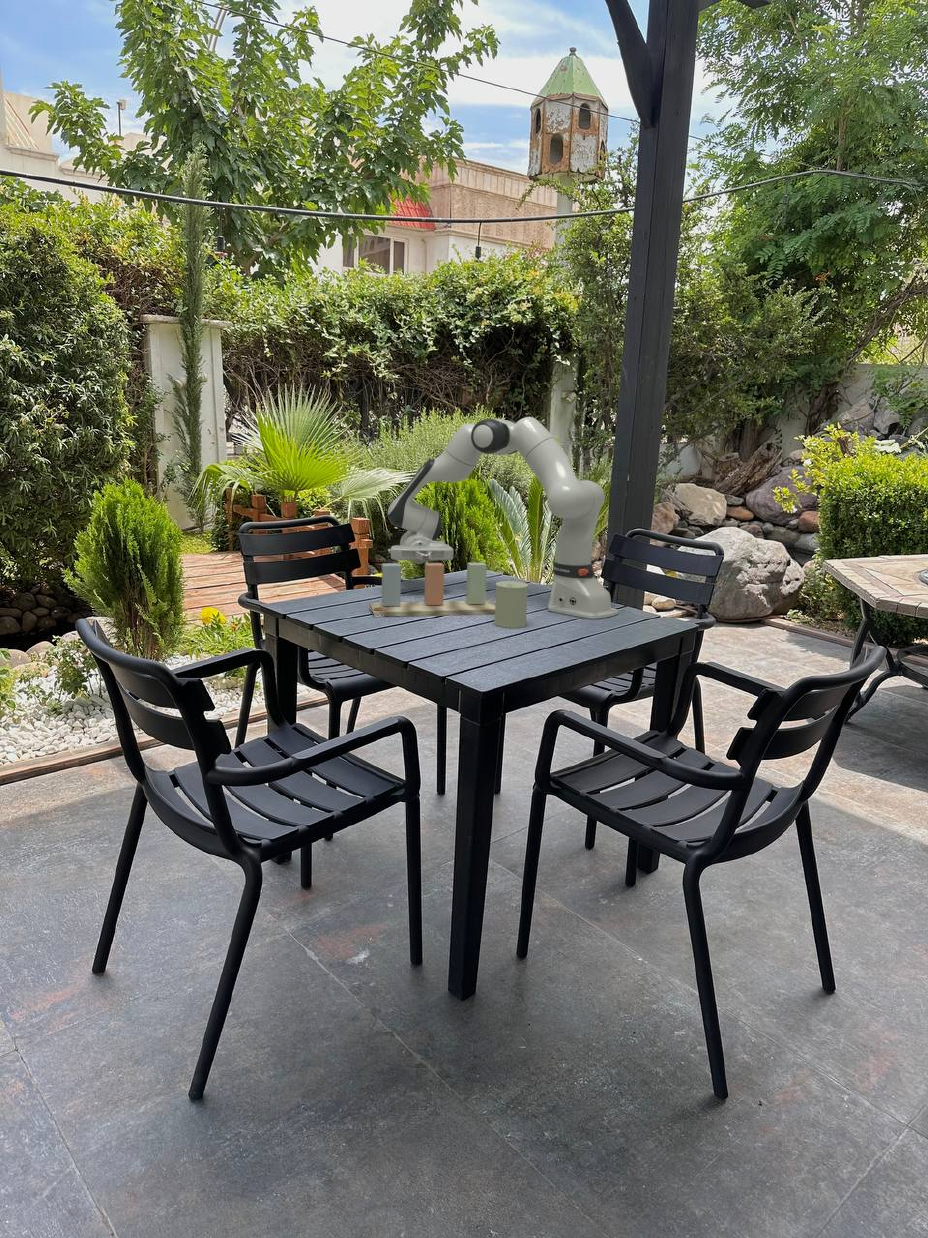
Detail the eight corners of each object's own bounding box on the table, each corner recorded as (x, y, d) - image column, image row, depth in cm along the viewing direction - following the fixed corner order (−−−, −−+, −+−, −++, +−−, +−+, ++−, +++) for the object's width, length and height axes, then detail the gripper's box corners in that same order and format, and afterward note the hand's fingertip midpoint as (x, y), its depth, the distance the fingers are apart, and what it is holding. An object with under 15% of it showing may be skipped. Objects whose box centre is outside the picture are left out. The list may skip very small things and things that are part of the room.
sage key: (481, 600, 244) (483, 562, 242) (485, 603, 241) (486, 564, 238) (466, 601, 243) (467, 562, 240) (469, 604, 240) (470, 565, 237)
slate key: (398, 602, 239) (398, 563, 236) (400, 605, 235) (400, 565, 232) (381, 603, 237) (382, 563, 234) (383, 606, 234) (383, 566, 231)
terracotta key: (440, 601, 241) (441, 562, 239) (443, 604, 238) (444, 565, 235) (424, 602, 240) (425, 563, 237) (426, 605, 237) (427, 565, 234)
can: (490, 626, 222) (491, 584, 219) (498, 618, 231) (500, 578, 228) (522, 629, 220) (524, 587, 217) (529, 621, 228) (531, 581, 225)
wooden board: (491, 604, 248) (491, 598, 247) (501, 614, 236) (501, 607, 236) (369, 607, 239) (369, 601, 238) (374, 617, 228) (374, 610, 227)
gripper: (387, 539, 258) (393, 547, 245) (448, 540, 263) (457, 547, 250) (386, 559, 260) (392, 567, 247) (447, 559, 265) (456, 567, 252)
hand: (425, 557), depth 249 cm, fingers closed
